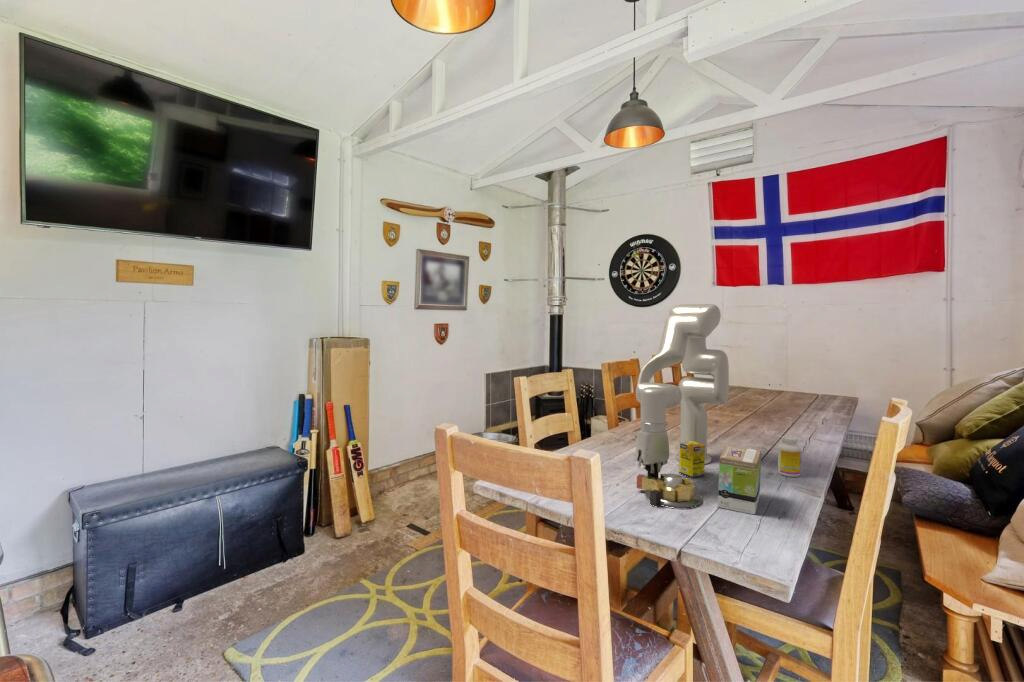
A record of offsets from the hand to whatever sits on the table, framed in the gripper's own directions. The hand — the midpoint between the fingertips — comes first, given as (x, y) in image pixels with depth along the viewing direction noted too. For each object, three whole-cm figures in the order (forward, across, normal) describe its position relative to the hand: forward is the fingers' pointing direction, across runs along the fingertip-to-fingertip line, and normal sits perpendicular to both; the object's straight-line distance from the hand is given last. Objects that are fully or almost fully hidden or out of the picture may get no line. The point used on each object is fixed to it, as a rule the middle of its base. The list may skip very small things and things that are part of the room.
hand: (652, 483), depth 145 cm
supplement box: (+3, -21, -5) cm, 22 cm away
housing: (+2, -1, +8) cm, 8 cm away
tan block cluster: (0, 0, +6) cm, 6 cm away
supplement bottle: (+3, -52, +8) cm, 53 cm away
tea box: (+2, -16, +18) cm, 25 cm away
